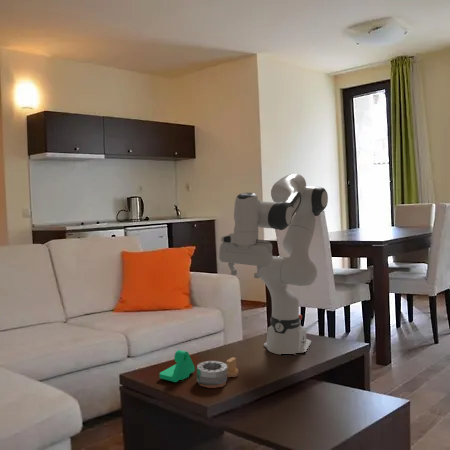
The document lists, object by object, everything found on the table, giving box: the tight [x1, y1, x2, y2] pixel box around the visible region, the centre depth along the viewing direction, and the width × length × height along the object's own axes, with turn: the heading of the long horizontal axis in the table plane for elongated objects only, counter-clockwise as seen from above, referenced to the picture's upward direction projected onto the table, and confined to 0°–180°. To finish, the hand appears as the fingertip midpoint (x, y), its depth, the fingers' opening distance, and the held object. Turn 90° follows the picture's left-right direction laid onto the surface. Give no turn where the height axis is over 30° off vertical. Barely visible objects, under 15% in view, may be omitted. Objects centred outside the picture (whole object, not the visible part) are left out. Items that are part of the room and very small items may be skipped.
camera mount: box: [159, 349, 196, 383], centre depth 198 cm, size 12×8×10 cm, turn 149°
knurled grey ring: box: [196, 360, 228, 385], centre depth 193 cm, size 11×11×6 cm
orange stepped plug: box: [225, 356, 239, 375], centre depth 200 cm, size 5×5×6 cm
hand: (245, 276), depth 196 cm, fingers open, 8 cm apart
